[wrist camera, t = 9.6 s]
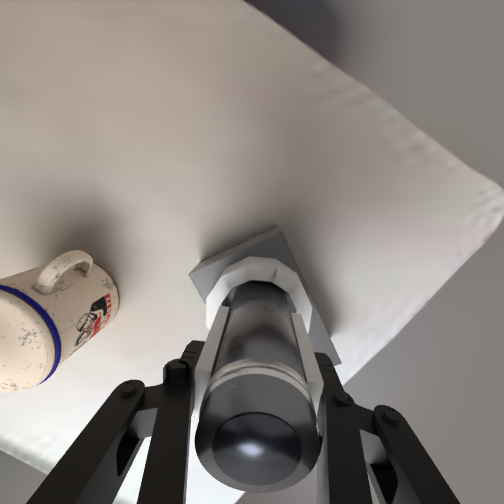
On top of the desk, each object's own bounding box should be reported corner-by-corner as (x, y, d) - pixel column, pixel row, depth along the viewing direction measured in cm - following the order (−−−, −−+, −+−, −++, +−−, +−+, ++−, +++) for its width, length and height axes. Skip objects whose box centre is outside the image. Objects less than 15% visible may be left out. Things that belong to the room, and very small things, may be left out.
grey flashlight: (226, 311, 22) (174, 478, 9) (243, 264, 21) (214, 378, 8) (274, 328, 22) (292, 515, 9) (295, 283, 21) (347, 424, 8)
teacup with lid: (99, 344, 28) (-11, 447, 17) (29, 301, 27) (-139, 379, 16) (150, 266, 25) (60, 323, 14) (74, 215, 24) (-88, 233, 13)
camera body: (199, 262, 25) (178, 284, 19) (278, 225, 24) (284, 236, 17) (257, 366, 28) (255, 417, 21) (329, 338, 27) (351, 383, 20)
